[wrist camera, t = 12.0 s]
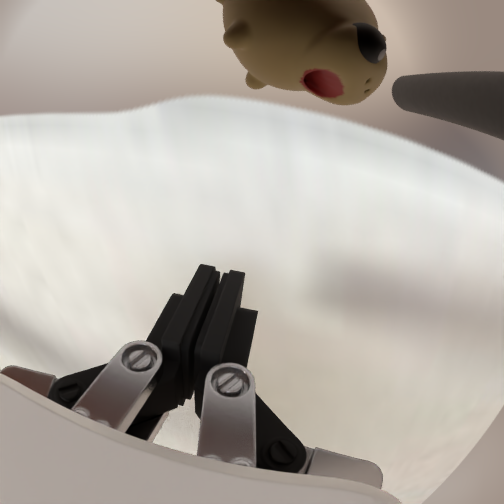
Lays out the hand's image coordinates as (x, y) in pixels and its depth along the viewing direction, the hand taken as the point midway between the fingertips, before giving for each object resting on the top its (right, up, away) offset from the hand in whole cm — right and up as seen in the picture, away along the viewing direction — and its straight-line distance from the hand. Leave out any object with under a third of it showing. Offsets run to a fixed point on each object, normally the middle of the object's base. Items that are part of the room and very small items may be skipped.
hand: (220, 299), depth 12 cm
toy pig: (+3, +12, +4) cm, 13 cm away
